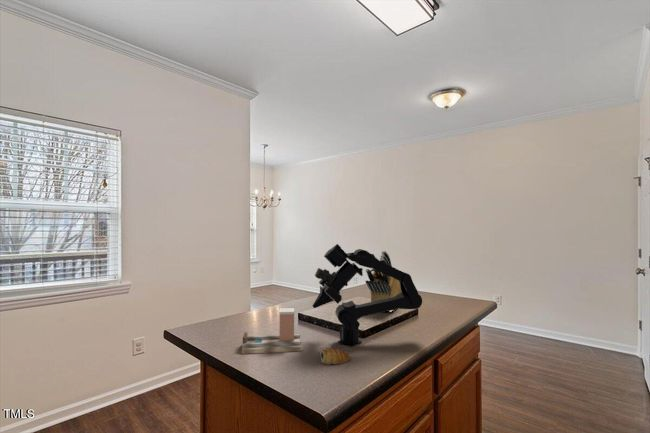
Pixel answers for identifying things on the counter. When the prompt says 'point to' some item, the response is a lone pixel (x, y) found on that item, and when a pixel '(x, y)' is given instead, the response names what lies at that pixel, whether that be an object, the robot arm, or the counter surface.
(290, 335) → the pink tall block
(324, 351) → the pastry
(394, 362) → the counter surface
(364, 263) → the robot arm
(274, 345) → the track
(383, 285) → the knife block
